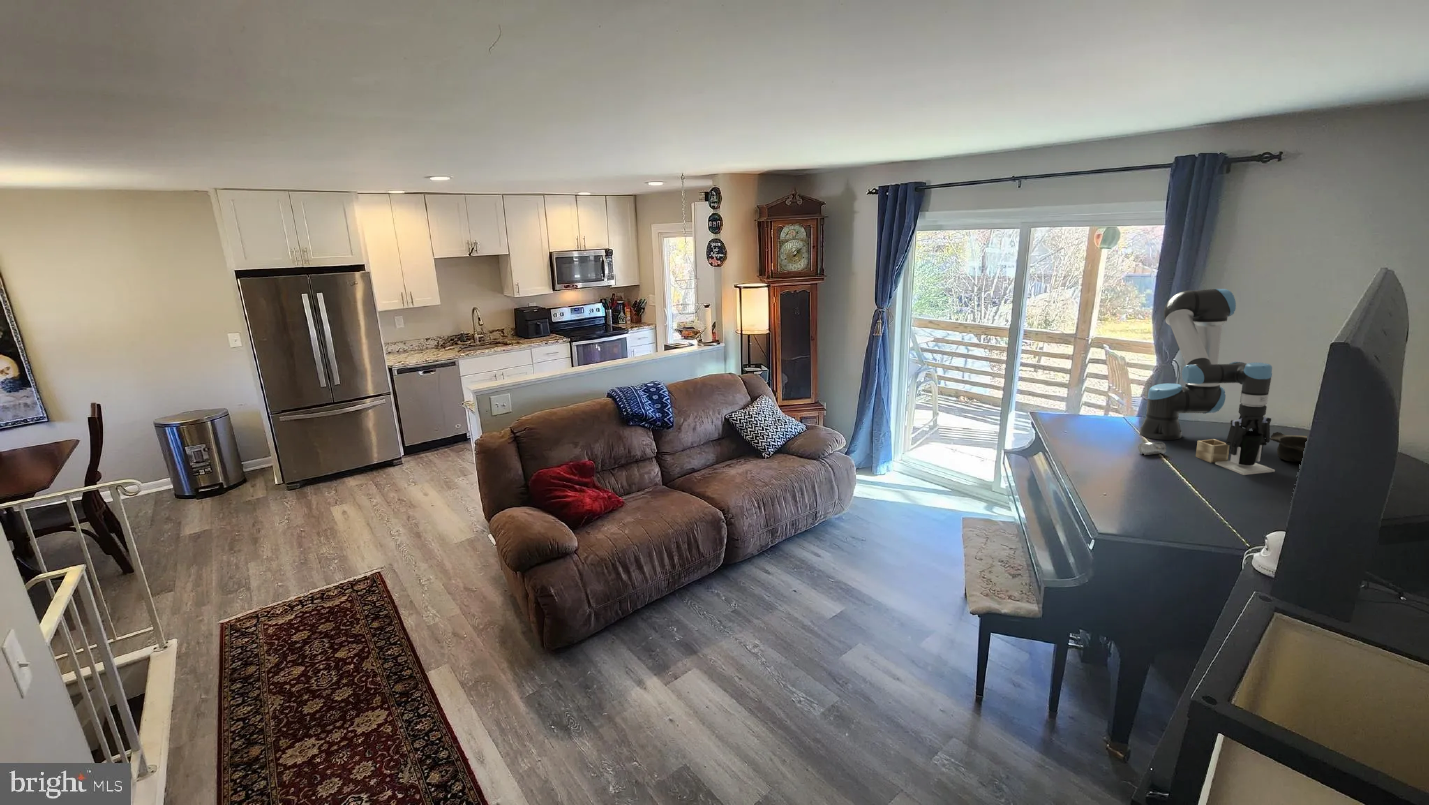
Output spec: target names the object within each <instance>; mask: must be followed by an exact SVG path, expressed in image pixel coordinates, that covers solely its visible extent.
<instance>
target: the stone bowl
mask: <svg viewBox="0 0 1429 805" xmlns="http://www.w3.org/2000/svg"><path fill="white" fill-rule="evenodd" d="M1270 441H1273V442H1275V443H1278V446H1277V448H1276V452H1277V454H1276V455H1277V457H1278V458H1279V459H1281V460H1283V461H1287V462H1303V461H1302V458H1303V451H1304V448H1305V442H1306V441H1307V435H1295V434H1287V435H1286V434H1284V433H1282V432H1279V431H1276V432H1273V433H1272V434H1271V435H1270Z"/></svg>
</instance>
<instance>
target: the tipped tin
mask: <svg viewBox="0 0 1429 805" xmlns="http://www.w3.org/2000/svg"><path fill="white" fill-rule="evenodd" d="M1138 452H1139V454H1140V453H1142V454H1144V455H1143V456H1151V455H1158V454H1160V453H1161V454H1165V453H1166V452H1167V445H1166V444H1165V442H1163V441H1154V442H1153V441H1151V442H1145V443H1143V442H1142V443H1139V445H1138ZM1142 454H1141V455H1142Z"/></svg>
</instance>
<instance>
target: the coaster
mask: <svg viewBox="0 0 1429 805" xmlns="http://www.w3.org/2000/svg"><path fill="white" fill-rule="evenodd" d="M1214 464H1215V465H1217V466H1219V467H1222V468H1224V469H1226V470H1230V471H1233V472H1235V473H1237V474H1240V475H1242V476H1246V475H1255V474H1265V473H1267V474H1268V473H1275V471H1276V470H1275V469H1273V468H1272V467H1268V466H1267V465H1263V464H1260V463H1257V462H1255V464H1254V465H1241V464H1236V463H1233V462H1231V461H1230V460H1228V461H1221V462H1214Z"/></svg>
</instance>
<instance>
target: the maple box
mask: <svg viewBox="0 0 1429 805" xmlns="http://www.w3.org/2000/svg"><path fill="white" fill-rule="evenodd" d="M1196 444H1197V445H1196V451H1195V457H1196V458H1198V459H1200V460H1202V461H1205V462H1207V463H1211V464H1212V463H1215V462H1221V461H1229V455H1230V454H1229V453H1230V449H1231V446H1230V445H1227V444H1226V442H1224V441H1221V440H1219V439H1215V438H1211V439H1203V440H1197V442H1196Z"/></svg>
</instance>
